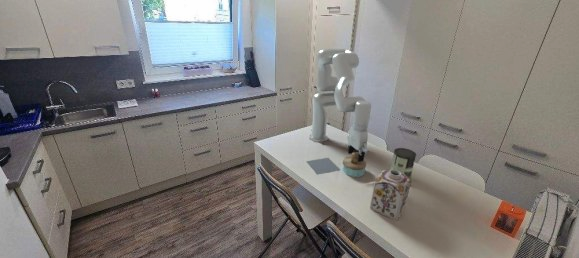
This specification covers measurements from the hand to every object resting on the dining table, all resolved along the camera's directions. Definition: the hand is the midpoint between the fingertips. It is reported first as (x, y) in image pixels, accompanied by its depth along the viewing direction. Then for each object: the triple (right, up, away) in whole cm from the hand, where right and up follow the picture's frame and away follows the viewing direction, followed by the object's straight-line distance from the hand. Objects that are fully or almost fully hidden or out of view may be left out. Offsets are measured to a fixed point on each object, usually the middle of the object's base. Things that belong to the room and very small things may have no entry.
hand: (355, 156), depth 130 cm
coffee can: (+23, -10, +1) cm, 25 cm away
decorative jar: (+8, -20, -22) cm, 31 cm away
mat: (-16, -6, +8) cm, 19 cm away
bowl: (0, -8, +4) cm, 9 cm away
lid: (0, -4, +2) cm, 4 cm away
